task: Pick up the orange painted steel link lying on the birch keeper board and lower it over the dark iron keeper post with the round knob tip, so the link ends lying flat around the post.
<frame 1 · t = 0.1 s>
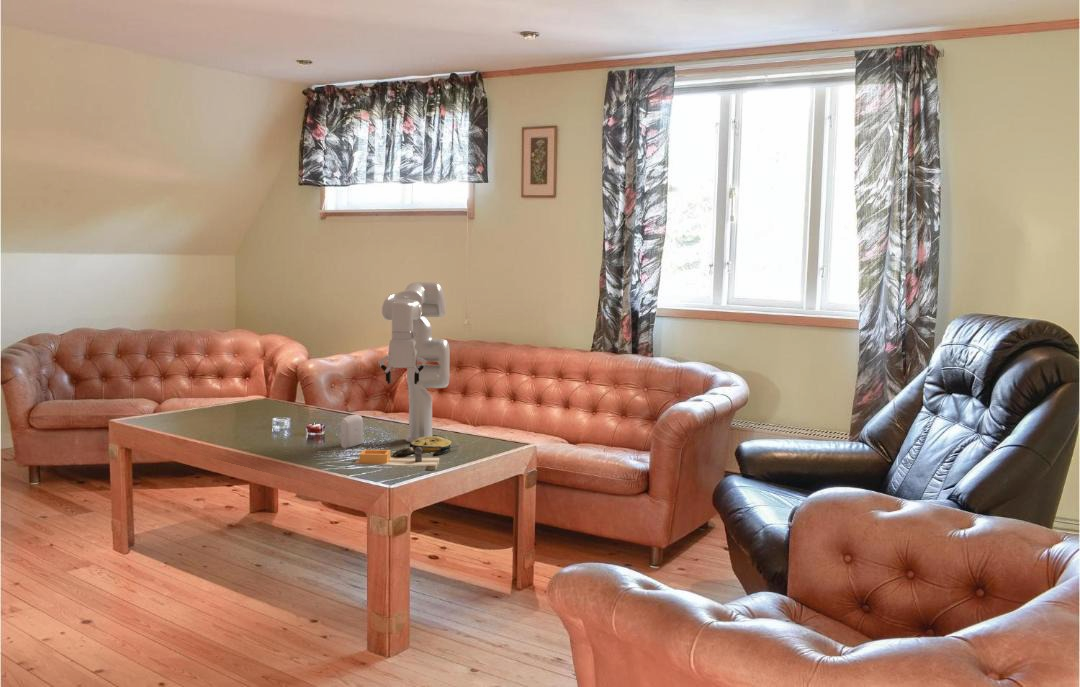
hand: (402, 383, 317), 31 cm above the table, fingers open, 9 cm apart
pulley block: (422, 454, 343), on the table, touching keeper board
photo printer: (352, 446, 355), on the table
link: (375, 460, 325), point 1 cm above the table, touching keeper board
keeper board: (396, 464, 325), on the table
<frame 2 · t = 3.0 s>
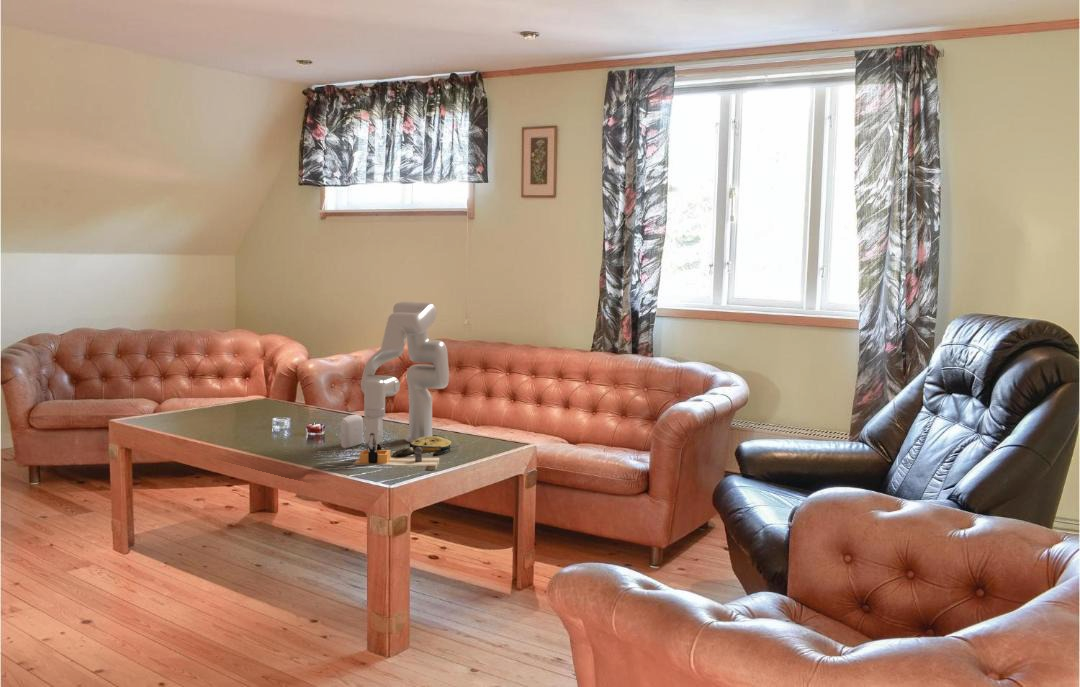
hand: (375, 459, 325), 2 cm above the table, fingers closed on link, 7 cm apart
link: (375, 460, 325), point 1 cm above the table, touching gripper, keeper board
everything else where it was.
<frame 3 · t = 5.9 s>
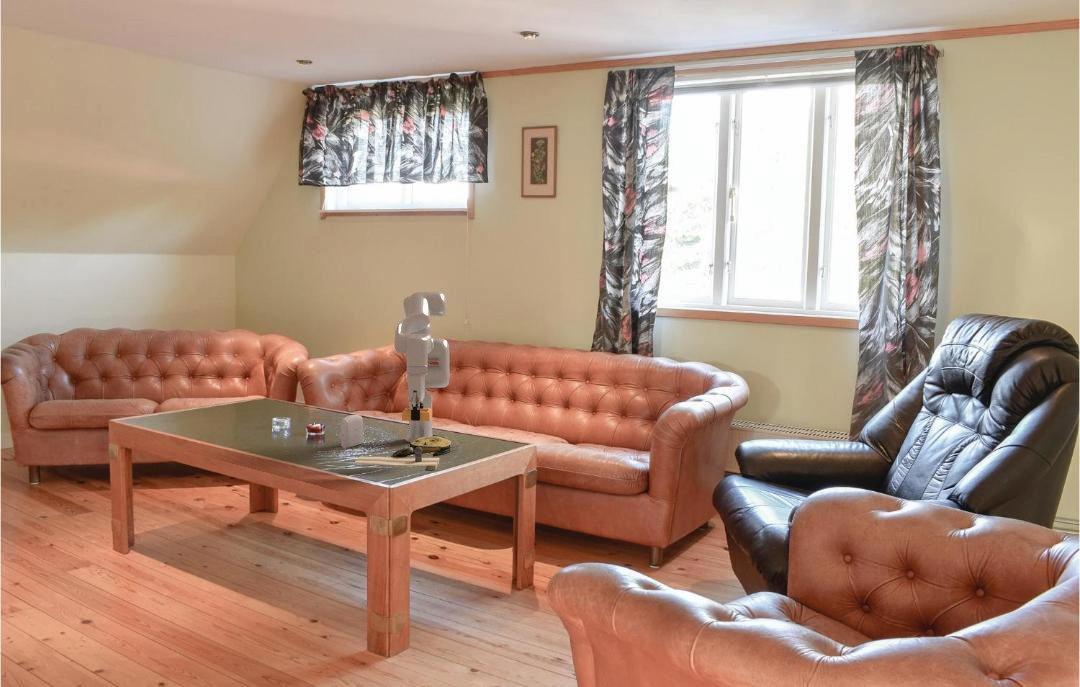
hand: (417, 417, 323), 18 cm above the table, fingers closed on link, 7 cm apart
link: (417, 418, 323), point 17 cm above the table, touching gripper
everything else where it was.
when the fingers open (3 cm above the table, at t = 8.7 s): link drops 2 cm, resting on keeper board.
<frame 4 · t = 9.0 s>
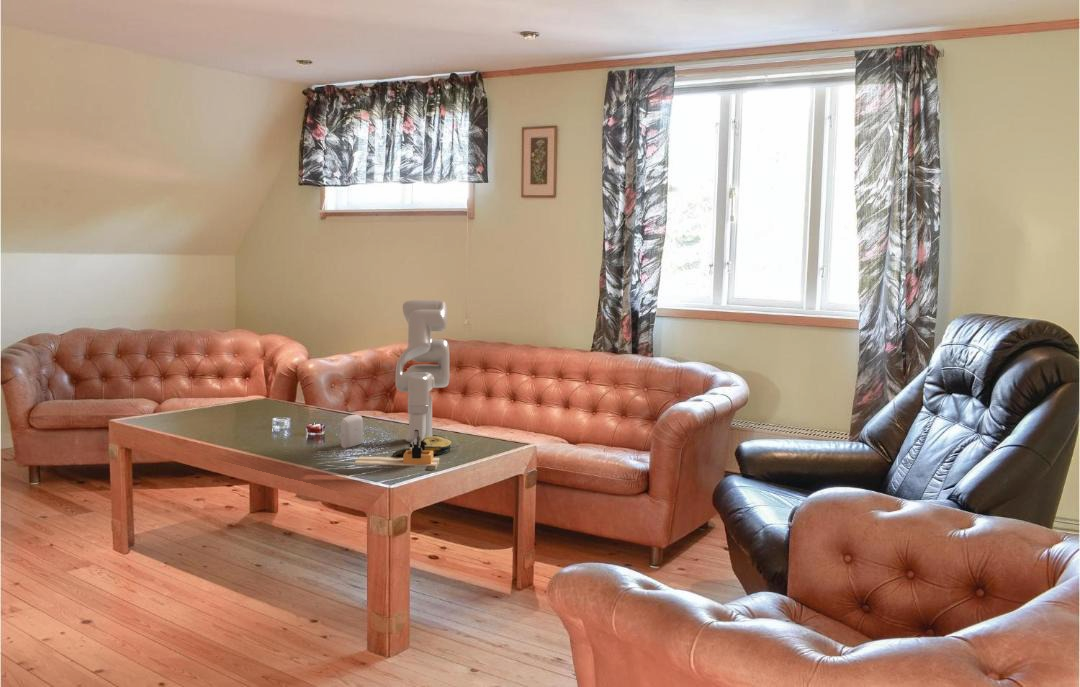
hand: (418, 454, 324), 4 cm above the table, fingers open, 9 cm apart
link: (418, 461, 325), point 1 cm above the table, touching keeper board
everything else where it was.
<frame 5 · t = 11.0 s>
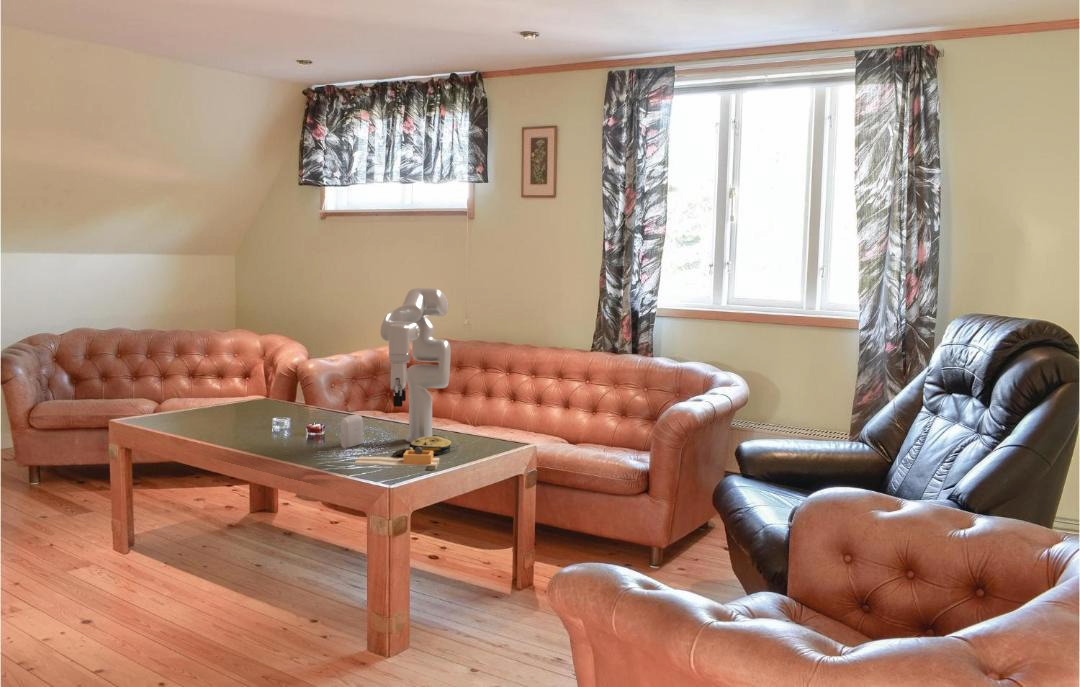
hand: (399, 403, 326), 22 cm above the table, fingers open, 9 cm apart
nothing on the table moved.
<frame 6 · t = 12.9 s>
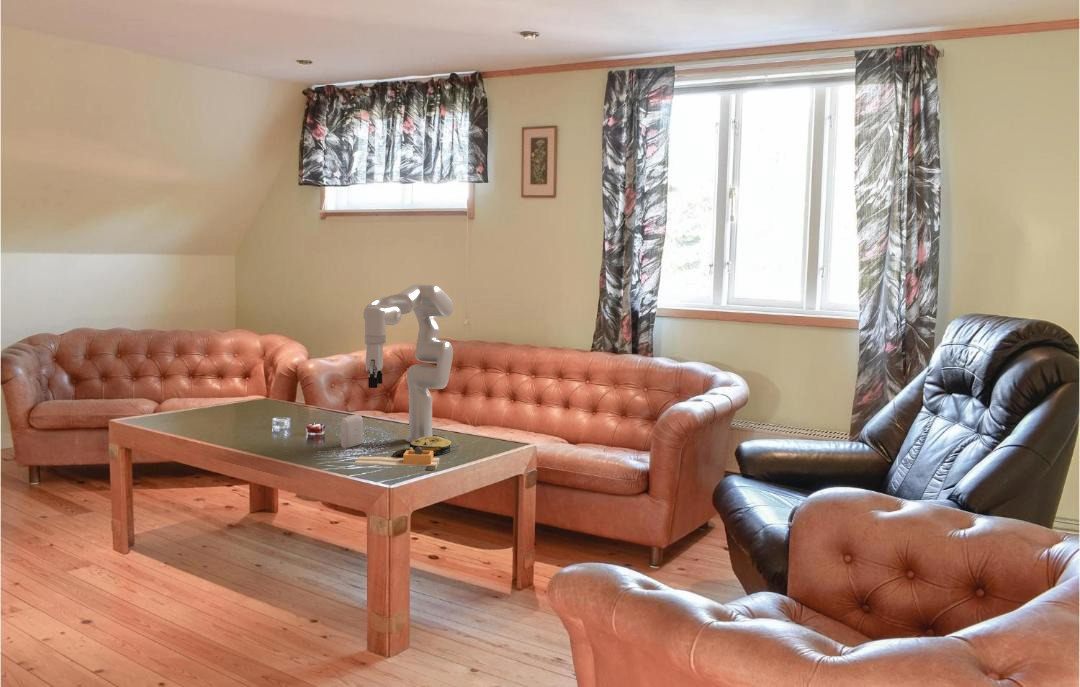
hand: (375, 385, 329), 28 cm above the table, fingers open, 9 cm apart
nothing on the table moved.
at the end: link 0.1 cm from the target spot on the keeper board, point 1.5 cm above the keeper board's base; link tilted 0°; the gripper is holding nothing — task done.
